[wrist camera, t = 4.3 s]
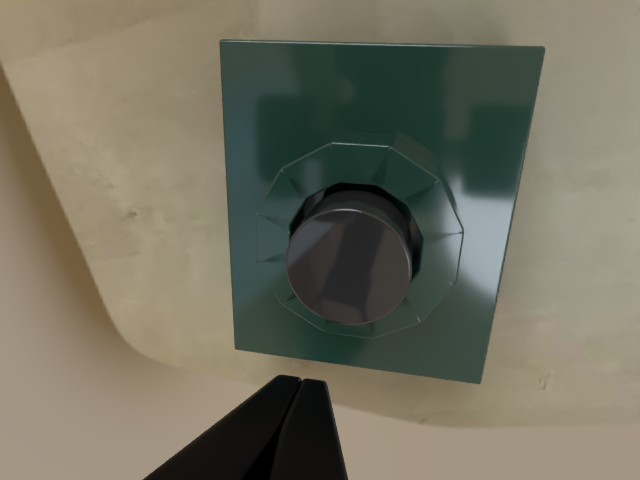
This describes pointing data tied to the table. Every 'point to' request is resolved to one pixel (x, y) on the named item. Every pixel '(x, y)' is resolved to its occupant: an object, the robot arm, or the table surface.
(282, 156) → the push button box
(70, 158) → the table surface
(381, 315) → the dark grey push button
